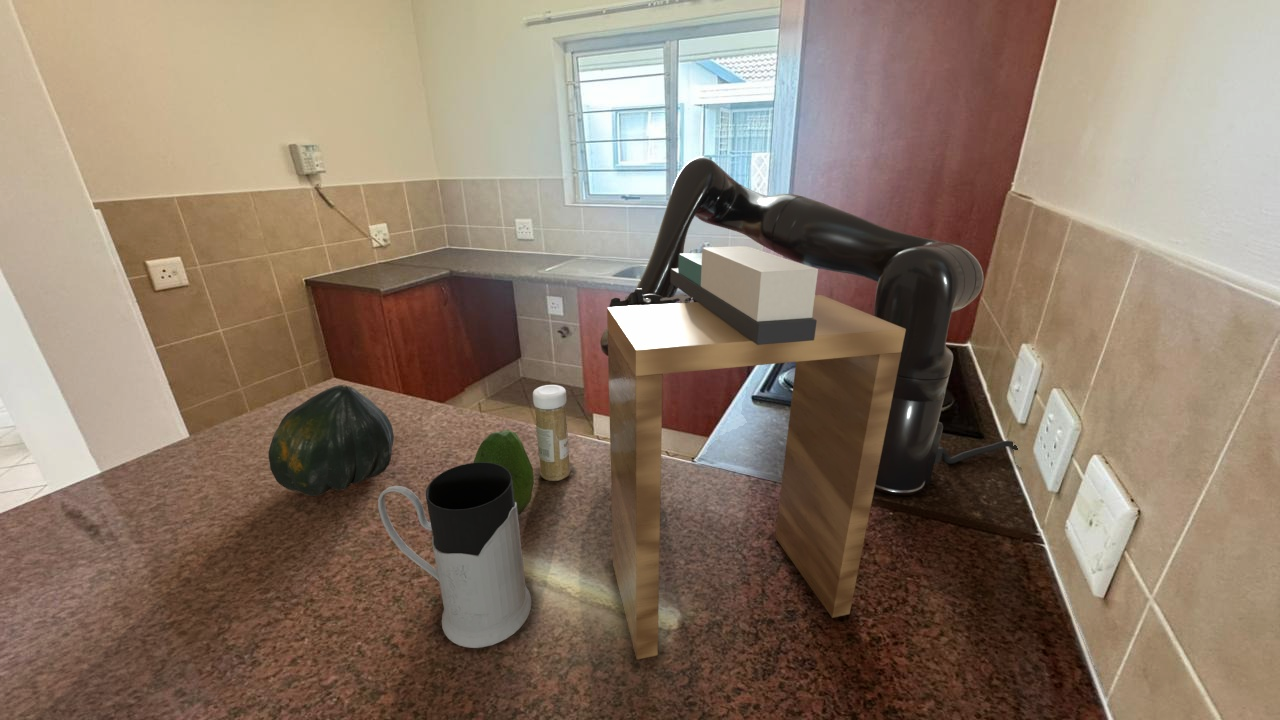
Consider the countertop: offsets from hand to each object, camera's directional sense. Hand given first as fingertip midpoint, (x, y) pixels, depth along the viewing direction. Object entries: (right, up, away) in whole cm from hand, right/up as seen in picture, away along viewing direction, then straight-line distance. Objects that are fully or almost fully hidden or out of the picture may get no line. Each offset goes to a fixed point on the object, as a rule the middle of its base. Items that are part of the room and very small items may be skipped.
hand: (673, 294), depth 63 cm
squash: (-47, -26, +10) cm, 55 cm away
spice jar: (-17, -25, +11) cm, 32 cm away
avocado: (-22, -29, +2) cm, 36 cm away
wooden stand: (+5, -33, -10) cm, 34 cm away
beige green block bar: (+4, -3, -17) cm, 17 cm away
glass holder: (-22, -34, -12) cm, 42 cm away
